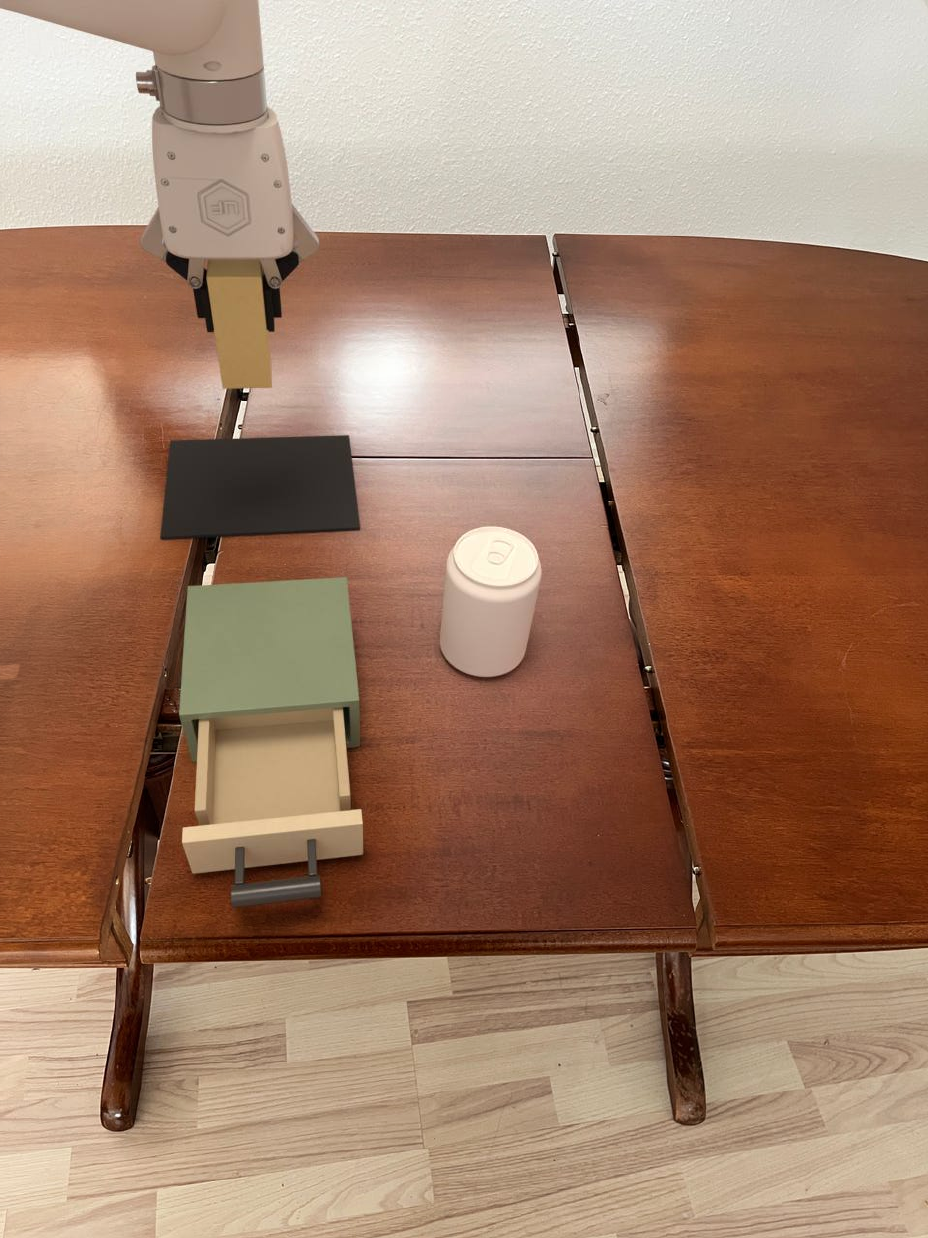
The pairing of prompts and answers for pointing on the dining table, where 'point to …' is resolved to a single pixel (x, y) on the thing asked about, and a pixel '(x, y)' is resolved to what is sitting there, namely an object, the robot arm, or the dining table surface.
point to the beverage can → (489, 601)
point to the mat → (259, 487)
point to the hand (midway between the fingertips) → (241, 322)
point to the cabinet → (268, 652)
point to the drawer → (272, 800)
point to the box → (240, 322)
